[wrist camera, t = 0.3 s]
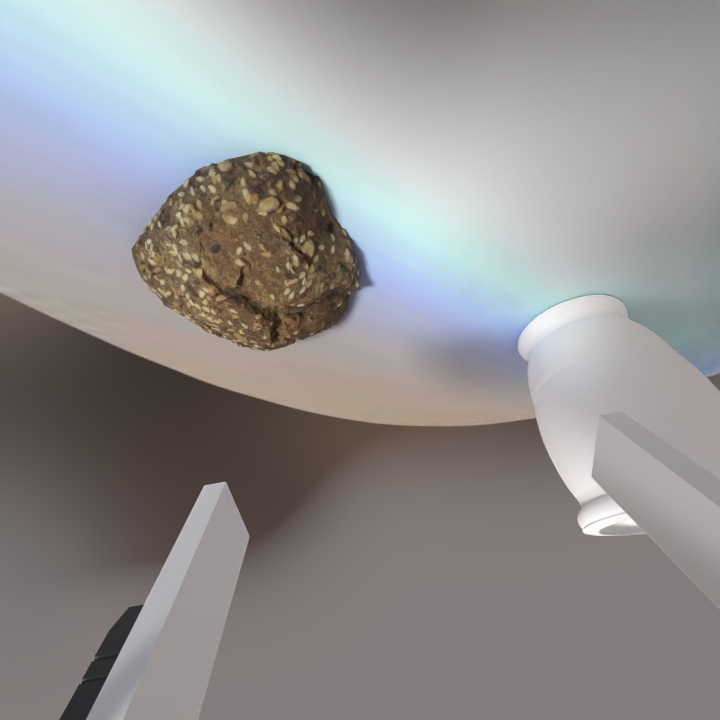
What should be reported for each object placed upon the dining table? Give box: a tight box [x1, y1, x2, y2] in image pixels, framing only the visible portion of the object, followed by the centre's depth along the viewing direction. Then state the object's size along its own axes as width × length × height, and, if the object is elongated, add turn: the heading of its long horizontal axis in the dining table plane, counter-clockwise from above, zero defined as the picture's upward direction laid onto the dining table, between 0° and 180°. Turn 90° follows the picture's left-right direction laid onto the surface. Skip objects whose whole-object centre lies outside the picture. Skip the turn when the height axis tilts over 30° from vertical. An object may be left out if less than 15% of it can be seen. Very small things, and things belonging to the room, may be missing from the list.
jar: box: [518, 295, 720, 536], centre depth 24 cm, size 11×10×15 cm
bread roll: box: [132, 152, 361, 351], centre depth 20 cm, size 13×12×5 cm
